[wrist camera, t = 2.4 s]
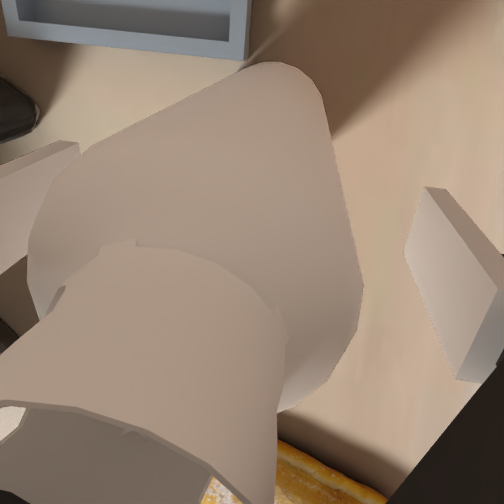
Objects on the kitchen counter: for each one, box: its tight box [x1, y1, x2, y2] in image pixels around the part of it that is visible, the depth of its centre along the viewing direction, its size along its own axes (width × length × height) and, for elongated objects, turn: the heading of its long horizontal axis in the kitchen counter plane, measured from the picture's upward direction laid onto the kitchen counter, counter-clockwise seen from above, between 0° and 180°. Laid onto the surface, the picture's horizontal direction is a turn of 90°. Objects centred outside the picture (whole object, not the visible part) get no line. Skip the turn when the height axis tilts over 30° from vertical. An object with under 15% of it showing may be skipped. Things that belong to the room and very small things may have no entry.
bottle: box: [0, 62, 364, 504], centre depth 17 cm, size 8×8×28 cm
